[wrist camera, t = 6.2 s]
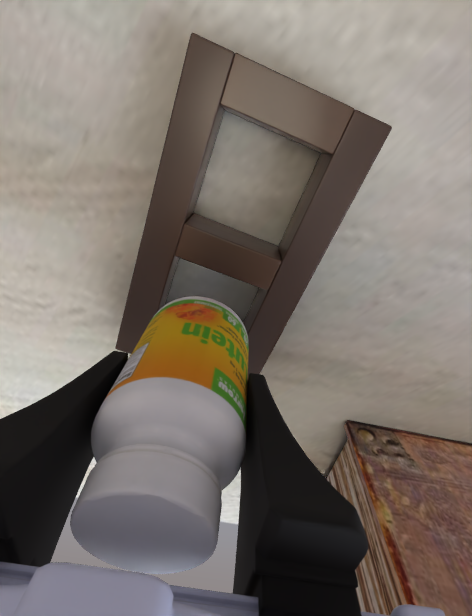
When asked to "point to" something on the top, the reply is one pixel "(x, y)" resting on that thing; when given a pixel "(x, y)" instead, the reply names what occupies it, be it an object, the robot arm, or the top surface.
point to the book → (409, 517)
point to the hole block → (227, 241)
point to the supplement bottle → (168, 442)
